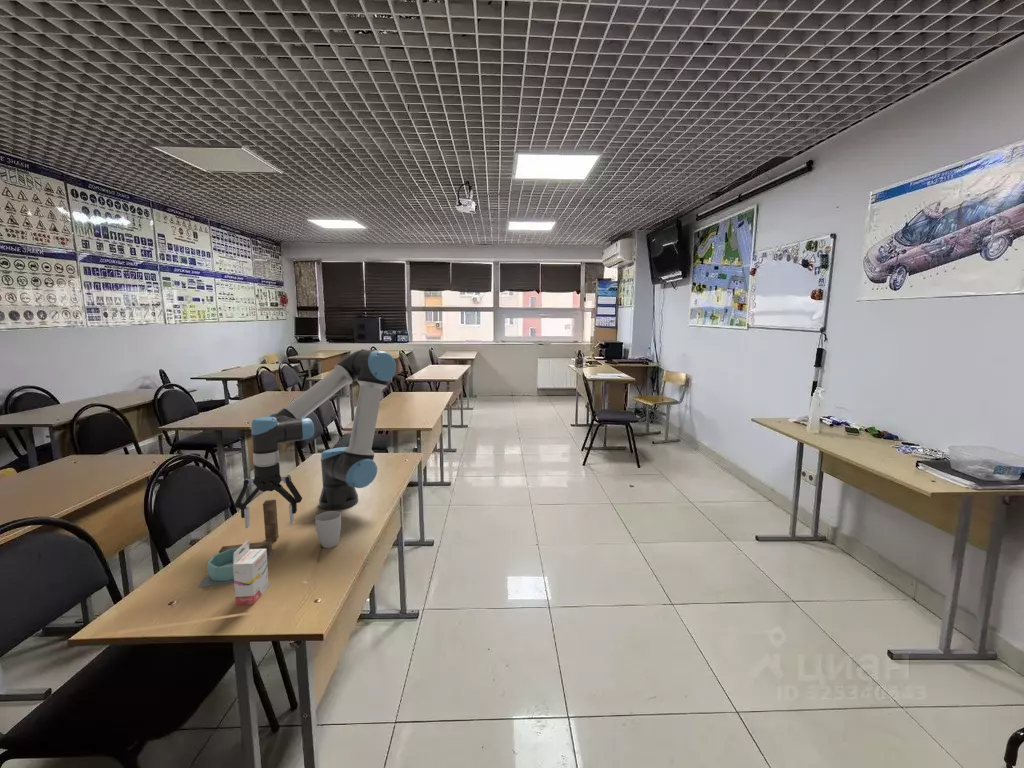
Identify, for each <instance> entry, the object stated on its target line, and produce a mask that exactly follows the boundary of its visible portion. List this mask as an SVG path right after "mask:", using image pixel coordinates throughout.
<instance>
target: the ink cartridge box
mask: <svg viewBox="0 0 1024 768" xmlns="http://www.w3.org/2000/svg"><path fill="white" fill-rule="evenodd" d="M249 543H250V539H247V541H245V542H243V545H242V546H241V547H240V548H238V549H237V550H236V551H235V552H234V554H233V573H234V596H235V597H234V598H235V606H243V605H244V606H245V605H246V606H247V605H255V604H256V603H257V601H259V599H260V598H261V596H262V595H263V594H264V593H265V591H266V590H267V589H268V588H269V569H268V562H267V549H250V550H249ZM243 548H244V550H243V551H242V552H241V553H240V554H239V552H240V551H241V549H243Z"/></svg>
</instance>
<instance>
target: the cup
mask: <svg viewBox="0 0 1024 768" xmlns="http://www.w3.org/2000/svg"><path fill="white" fill-rule="evenodd" d="M314 520H315V521H314V523H315V529H316V530H315V531H316V533H317V537H318V542H319V543H320V546H321V547H322V548H323V549H324V548H326V549H329V548H330V549H331V548H334V547H336V546H337V545H338V544H339V541H340V537H341V528H342V512H340V511H338V510H328V511H324V512H320V513H319V514H317V515H315V517H314Z"/></svg>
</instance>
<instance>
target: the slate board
mask: <svg viewBox="0 0 1024 768" xmlns="http://www.w3.org/2000/svg"><path fill="white" fill-rule="evenodd" d="M274 551H275V549H272V552H271V554H270V555H267V563H268V562H269V560H270V558H271V556H272V554H273V553H274ZM233 583H234V580H230V581H223V582H218V581H213V580H212V579H211V578H210V576H208V574H207V575H206V576H205V577H204V579H203V580H202V582H201V583H200V584H199V586H198V588H204V587H211V586H218V585H226V584H233Z"/></svg>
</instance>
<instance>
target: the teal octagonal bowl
mask: <svg viewBox="0 0 1024 768" xmlns="http://www.w3.org/2000/svg"><path fill="white" fill-rule="evenodd" d="M237 549H238V548H235V549H229V550H226V551H224V552H221V553H219V552H218V553H217V554H214V555H212V556H211V558H210V559H209V560H208V562H207V563H206V566H207V570H206V571H207V575H208V576H210V578H211V579H212V580H213V581H218V582H223V581H230V580H234V573H233V554H234V552H235V551H236V550H237ZM243 550H244V548H243V549H241V551H240V552H239V554H240V553H241V552H242V551H243ZM249 550H250V548H249Z"/></svg>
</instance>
